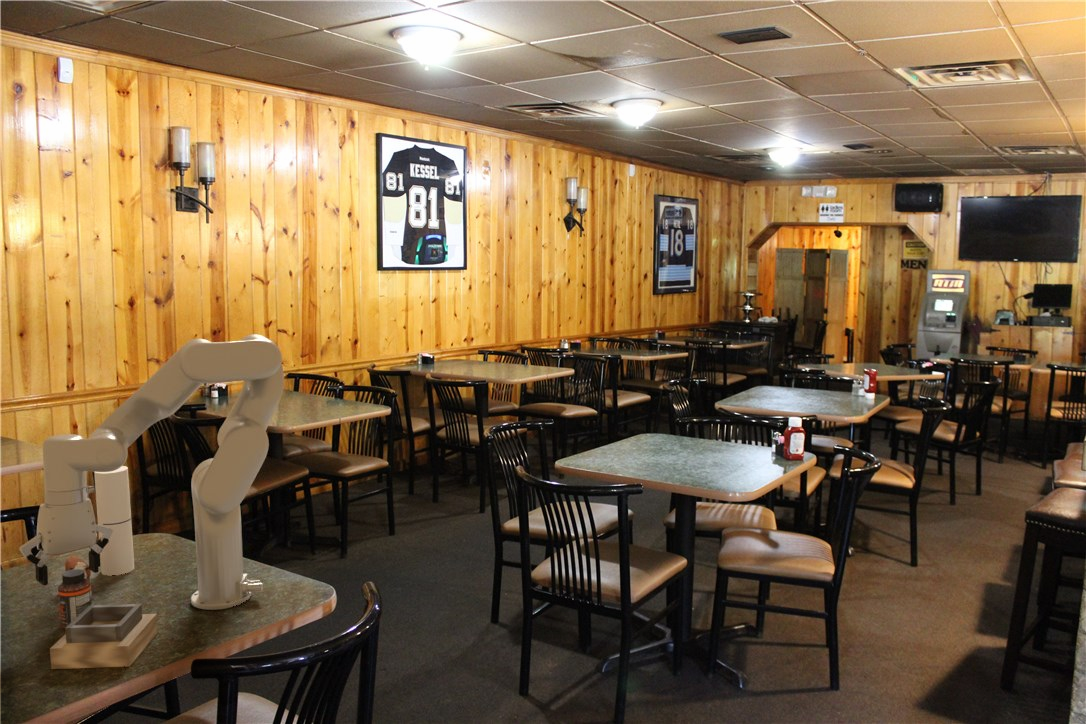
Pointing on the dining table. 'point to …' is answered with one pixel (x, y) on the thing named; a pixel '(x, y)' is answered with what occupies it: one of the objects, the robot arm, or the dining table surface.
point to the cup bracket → (104, 637)
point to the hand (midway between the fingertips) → (69, 577)
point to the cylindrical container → (115, 520)
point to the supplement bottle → (73, 595)
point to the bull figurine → (77, 566)
